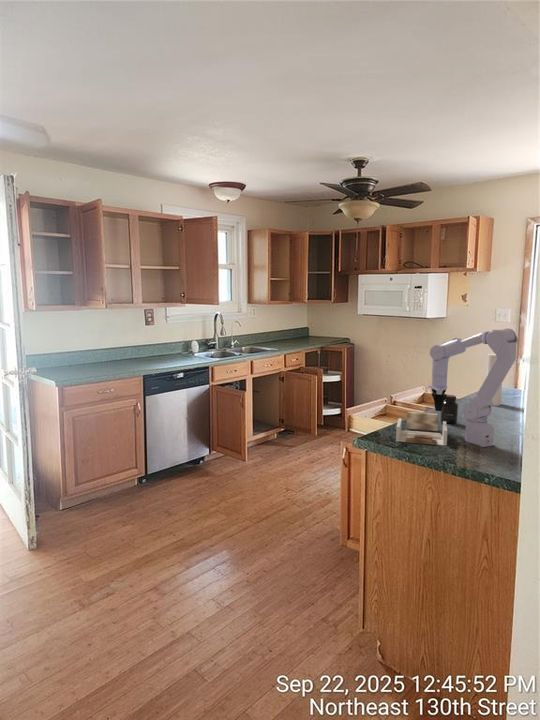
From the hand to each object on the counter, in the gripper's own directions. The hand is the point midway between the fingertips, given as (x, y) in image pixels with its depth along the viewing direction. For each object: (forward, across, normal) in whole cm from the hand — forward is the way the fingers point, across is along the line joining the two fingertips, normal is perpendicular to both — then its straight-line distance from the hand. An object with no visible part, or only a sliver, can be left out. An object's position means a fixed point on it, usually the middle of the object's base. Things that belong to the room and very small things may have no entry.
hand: (438, 408), depth 191 cm
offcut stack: (+9, +17, -6) cm, 20 cm away
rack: (+10, +12, -6) cm, 16 cm away
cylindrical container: (+10, -59, +27) cm, 66 cm away
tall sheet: (+10, 0, -6) cm, 12 cm away
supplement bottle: (+10, -16, +5) cm, 19 cm away
